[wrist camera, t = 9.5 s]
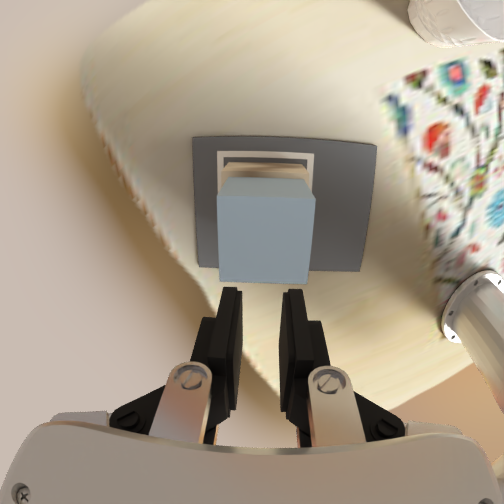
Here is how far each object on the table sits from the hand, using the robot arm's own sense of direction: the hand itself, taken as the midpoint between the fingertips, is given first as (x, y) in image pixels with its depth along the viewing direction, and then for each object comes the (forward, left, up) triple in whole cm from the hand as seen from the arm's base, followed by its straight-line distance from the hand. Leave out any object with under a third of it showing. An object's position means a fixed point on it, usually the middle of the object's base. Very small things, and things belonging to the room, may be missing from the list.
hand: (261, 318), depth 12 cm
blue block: (0, 0, -14) cm, 14 cm away
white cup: (-18, -22, -19) cm, 34 cm away
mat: (-2, +1, -19) cm, 19 cm away
